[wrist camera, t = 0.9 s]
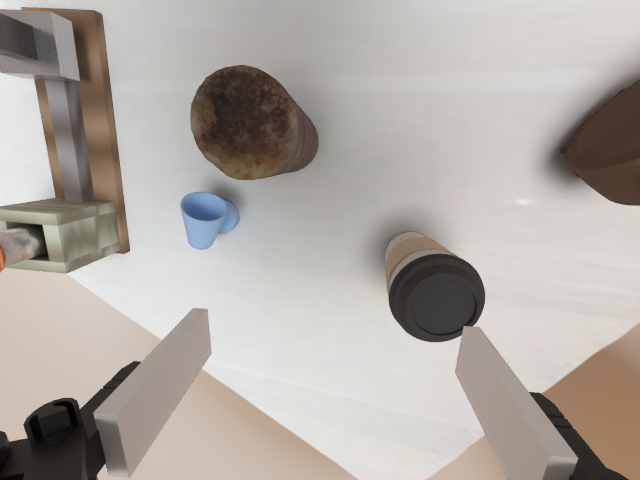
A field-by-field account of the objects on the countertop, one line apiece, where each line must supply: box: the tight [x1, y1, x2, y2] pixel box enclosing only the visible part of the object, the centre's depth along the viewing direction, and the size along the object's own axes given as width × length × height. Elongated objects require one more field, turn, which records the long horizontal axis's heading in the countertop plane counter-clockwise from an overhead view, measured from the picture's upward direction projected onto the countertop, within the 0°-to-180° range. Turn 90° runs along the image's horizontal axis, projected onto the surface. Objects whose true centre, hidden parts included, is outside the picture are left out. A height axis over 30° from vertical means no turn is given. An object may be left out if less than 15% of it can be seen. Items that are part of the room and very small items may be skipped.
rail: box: [0, 7, 130, 274], centre depth 36 cm, size 30×9×10 cm, turn 176°
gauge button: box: [0, 224, 48, 272], centre depth 33 cm, size 4×4×8 cm
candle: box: [191, 65, 318, 180], centre depth 29 cm, size 8×7×20 cm
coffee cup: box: [385, 232, 485, 342], centre depth 34 cm, size 9×9×15 cm
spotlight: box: [181, 192, 239, 250], centre depth 37 cm, size 5×10×7 cm
